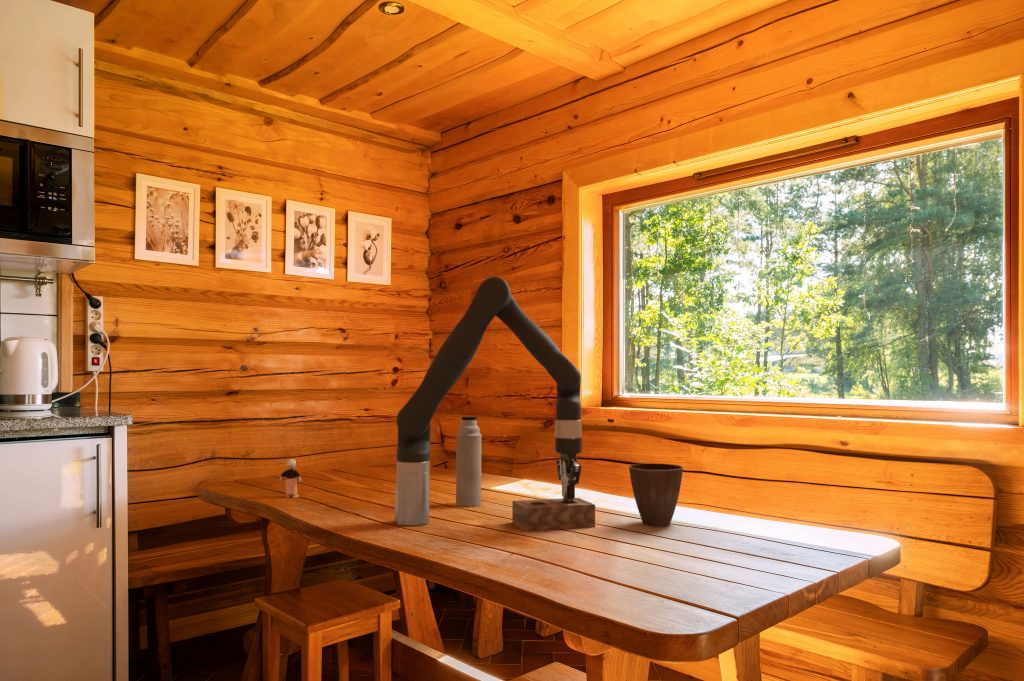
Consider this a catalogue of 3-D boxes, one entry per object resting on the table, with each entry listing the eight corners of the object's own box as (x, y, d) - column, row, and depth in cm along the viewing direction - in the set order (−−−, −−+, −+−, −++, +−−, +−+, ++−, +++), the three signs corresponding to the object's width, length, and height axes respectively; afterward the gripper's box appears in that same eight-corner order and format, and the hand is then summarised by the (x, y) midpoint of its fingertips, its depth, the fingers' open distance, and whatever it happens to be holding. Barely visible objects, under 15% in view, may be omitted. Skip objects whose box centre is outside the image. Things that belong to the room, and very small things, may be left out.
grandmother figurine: (303, 495, 255) (303, 458, 256) (300, 497, 251) (301, 459, 252) (280, 496, 255) (280, 458, 255) (277, 497, 251) (278, 459, 252)
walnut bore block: (525, 531, 200) (525, 507, 200) (512, 522, 211) (512, 500, 212) (595, 526, 206) (595, 504, 206) (578, 518, 217) (578, 497, 218)
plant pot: (659, 531, 200) (659, 471, 200) (617, 523, 211) (617, 465, 212) (694, 524, 209) (694, 467, 210) (652, 516, 221) (652, 462, 221)
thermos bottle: (458, 502, 244) (459, 415, 245) (482, 502, 243) (483, 416, 244) (454, 506, 236) (454, 417, 237) (479, 507, 235) (479, 417, 236)
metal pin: (565, 517, 208) (565, 466, 209) (561, 515, 211) (561, 465, 212) (575, 516, 209) (575, 466, 210) (571, 514, 212) (571, 464, 213)
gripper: (547, 434, 217) (547, 494, 216) (565, 438, 203) (564, 502, 202) (571, 433, 219) (571, 493, 218) (590, 437, 205) (590, 501, 205)
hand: (568, 497), depth 210 cm, fingers closed on metal pin, 3 cm apart
